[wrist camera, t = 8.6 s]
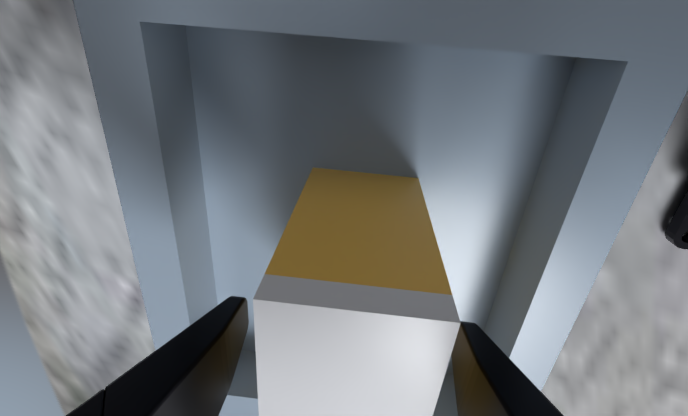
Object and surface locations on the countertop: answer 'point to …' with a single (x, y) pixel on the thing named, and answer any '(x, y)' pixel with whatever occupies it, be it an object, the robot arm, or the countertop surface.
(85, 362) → the countertop surface
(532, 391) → the robot arm
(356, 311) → the yellow and white block
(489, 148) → the parts tray
